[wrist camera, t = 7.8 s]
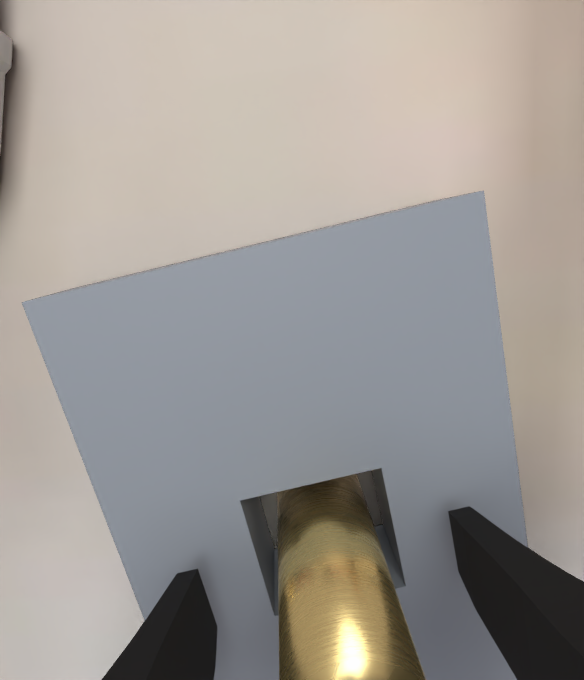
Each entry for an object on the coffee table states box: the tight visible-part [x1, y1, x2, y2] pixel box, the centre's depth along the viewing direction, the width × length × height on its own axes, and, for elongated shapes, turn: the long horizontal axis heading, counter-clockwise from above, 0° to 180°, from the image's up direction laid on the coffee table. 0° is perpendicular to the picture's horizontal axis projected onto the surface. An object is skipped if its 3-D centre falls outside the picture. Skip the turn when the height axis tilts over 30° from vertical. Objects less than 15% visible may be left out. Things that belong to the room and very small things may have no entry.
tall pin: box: [277, 474, 426, 680], centre depth 12 cm, size 3×3×8 cm
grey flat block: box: [22, 191, 528, 680], centre depth 15 cm, size 18×12×3 cm, turn 13°
